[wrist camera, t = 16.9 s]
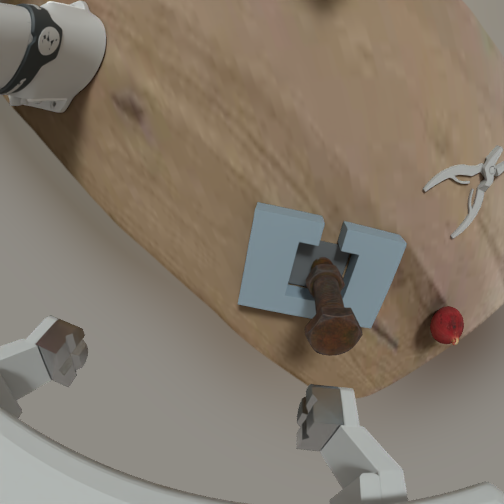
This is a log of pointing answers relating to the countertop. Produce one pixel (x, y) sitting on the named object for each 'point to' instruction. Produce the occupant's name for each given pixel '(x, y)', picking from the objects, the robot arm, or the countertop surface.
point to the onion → (447, 325)
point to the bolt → (330, 311)
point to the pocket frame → (307, 250)
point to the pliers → (485, 169)
